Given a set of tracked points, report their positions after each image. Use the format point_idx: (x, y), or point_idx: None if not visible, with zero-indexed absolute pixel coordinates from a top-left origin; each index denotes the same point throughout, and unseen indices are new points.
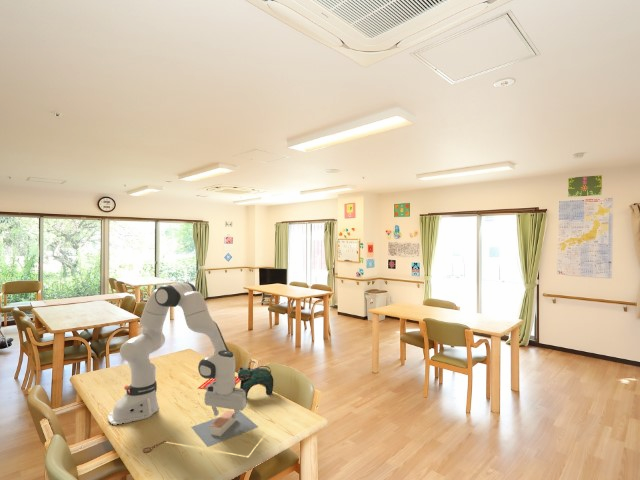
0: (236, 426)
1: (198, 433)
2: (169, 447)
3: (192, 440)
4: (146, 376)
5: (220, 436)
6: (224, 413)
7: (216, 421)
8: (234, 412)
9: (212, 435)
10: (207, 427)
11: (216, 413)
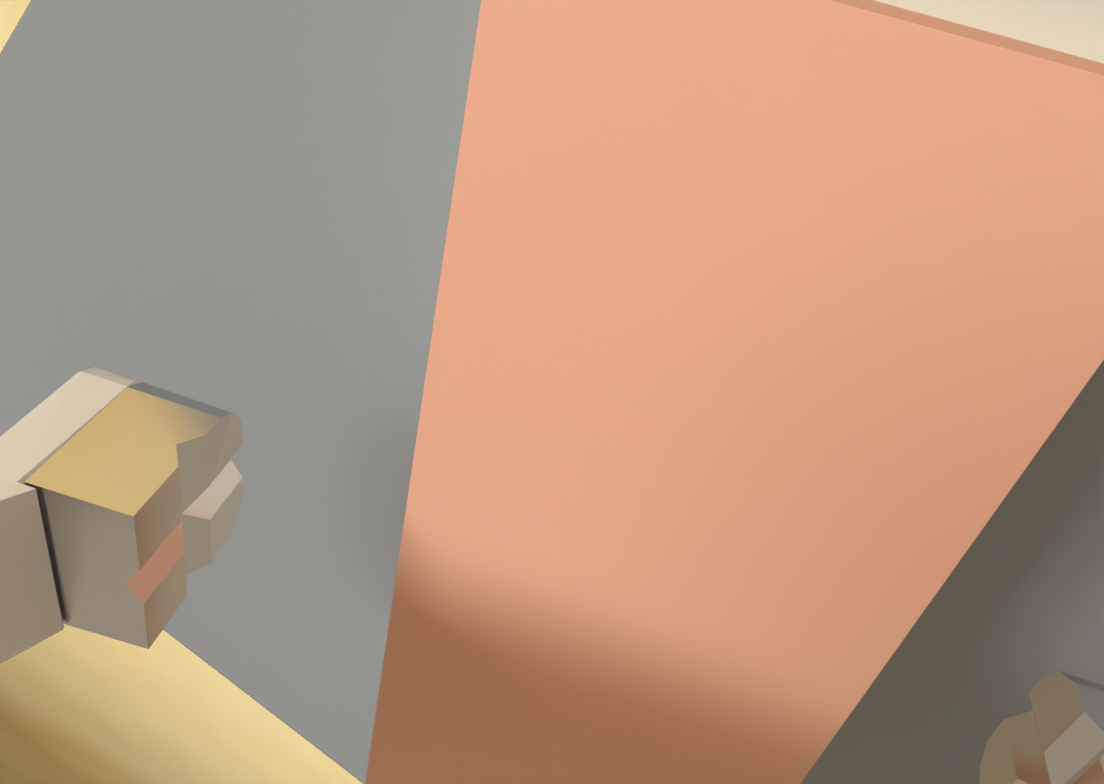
0: (1092, 470)
1: None
2: (7, 771)
3: (196, 705)
4: None
5: None
6: (475, 312)
7: (418, 777)
8: (1097, 237)
9: None
10: None
11: (167, 597)
